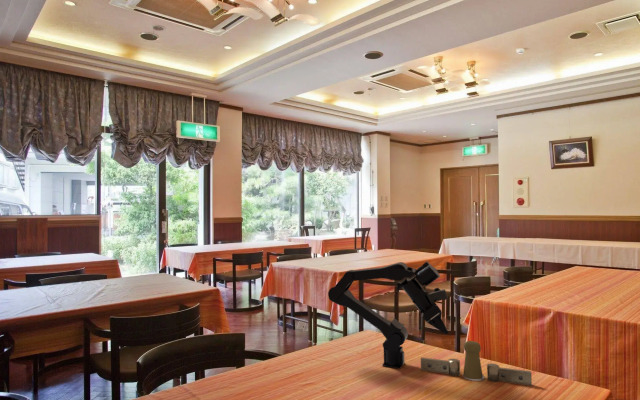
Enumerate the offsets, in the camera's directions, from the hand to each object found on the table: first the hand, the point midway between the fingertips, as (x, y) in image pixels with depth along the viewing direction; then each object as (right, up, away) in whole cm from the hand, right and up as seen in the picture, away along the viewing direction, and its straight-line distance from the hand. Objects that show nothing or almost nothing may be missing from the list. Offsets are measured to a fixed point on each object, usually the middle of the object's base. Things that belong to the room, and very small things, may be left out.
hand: (445, 331), depth 142 cm
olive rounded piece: (+7, -13, -6) cm, 16 cm away
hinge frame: (+7, -13, -6) cm, 16 cm away
